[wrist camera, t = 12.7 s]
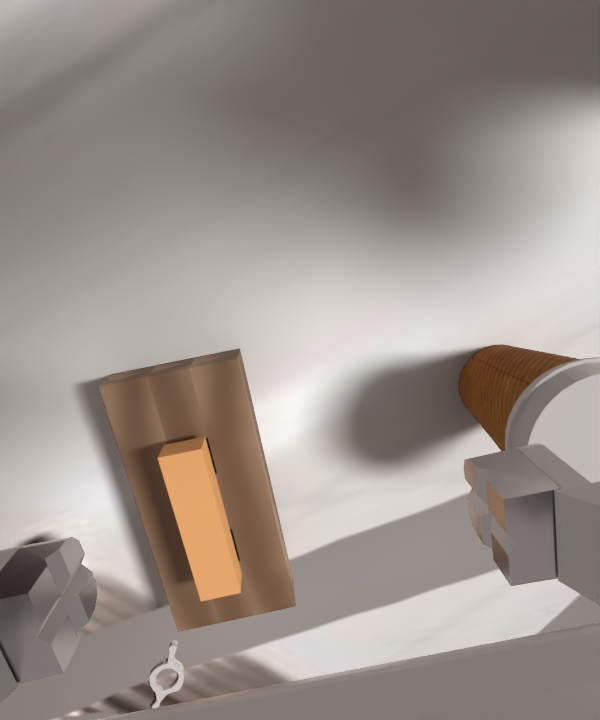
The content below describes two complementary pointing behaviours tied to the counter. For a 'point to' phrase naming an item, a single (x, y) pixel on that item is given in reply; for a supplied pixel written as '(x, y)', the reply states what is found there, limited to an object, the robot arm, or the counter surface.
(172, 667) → the scissors
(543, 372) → the disposable coffee cup
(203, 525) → the orange piece
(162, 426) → the rail
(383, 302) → the counter surface
